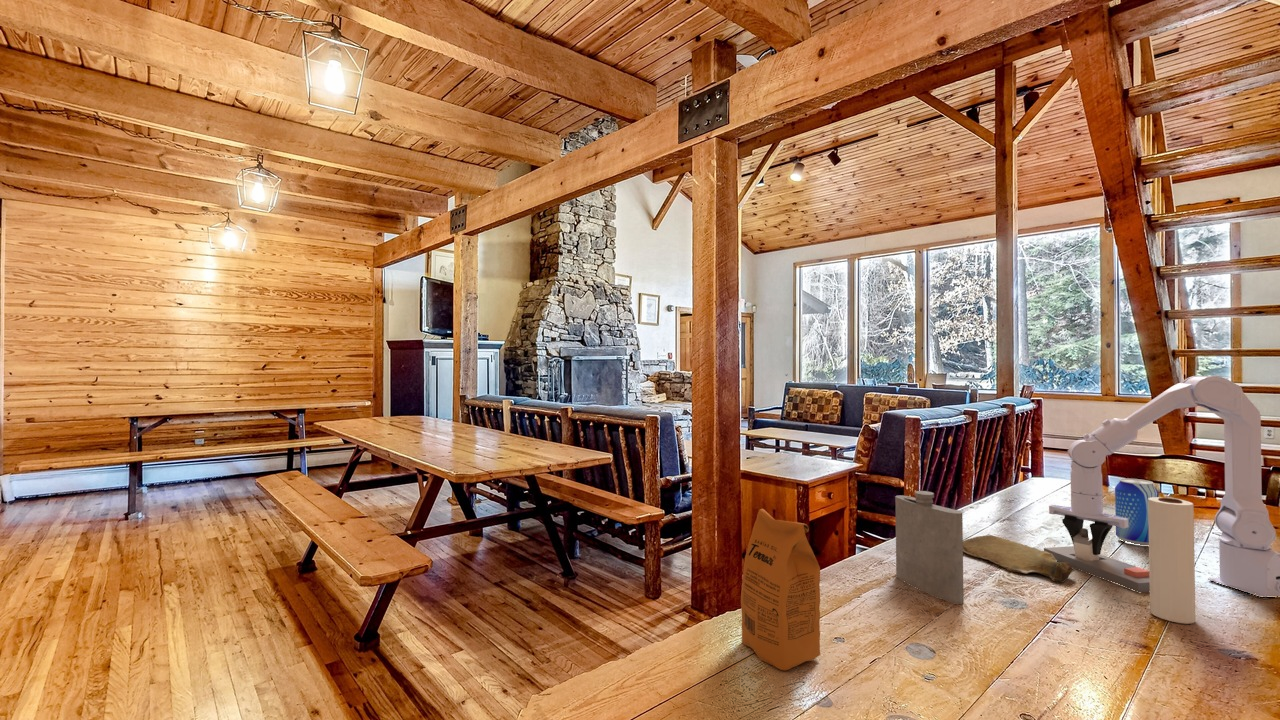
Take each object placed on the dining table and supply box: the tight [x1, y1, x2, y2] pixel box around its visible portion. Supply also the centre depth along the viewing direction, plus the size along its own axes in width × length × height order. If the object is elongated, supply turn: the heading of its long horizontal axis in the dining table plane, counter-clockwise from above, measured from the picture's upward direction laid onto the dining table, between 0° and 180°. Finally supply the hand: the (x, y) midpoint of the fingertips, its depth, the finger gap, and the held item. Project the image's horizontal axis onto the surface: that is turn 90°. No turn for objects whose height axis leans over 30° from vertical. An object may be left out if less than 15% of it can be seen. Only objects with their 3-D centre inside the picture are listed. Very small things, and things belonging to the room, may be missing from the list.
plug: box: [1072, 528, 1099, 561], centre depth 127 cm, size 3×4×8 cm
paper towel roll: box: [1148, 495, 1197, 625], centre depth 101 cm, size 7×6×21 cm
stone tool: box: [963, 534, 1075, 584], centre depth 129 cm, size 12×4×25 cm
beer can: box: [1114, 477, 1160, 545], centre depth 143 cm, size 8×8×16 cm
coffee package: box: [740, 508, 821, 671], centre depth 90 cm, size 10×12×22 cm
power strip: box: [1043, 545, 1150, 593], centre depth 123 cm, size 22×9×3 cm, turn 8°
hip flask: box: [895, 490, 965, 605], centre depth 115 cm, size 16×4×20 cm, turn 18°
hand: (1087, 551), depth 127 cm, fingers closed on plug, 3 cm apart
